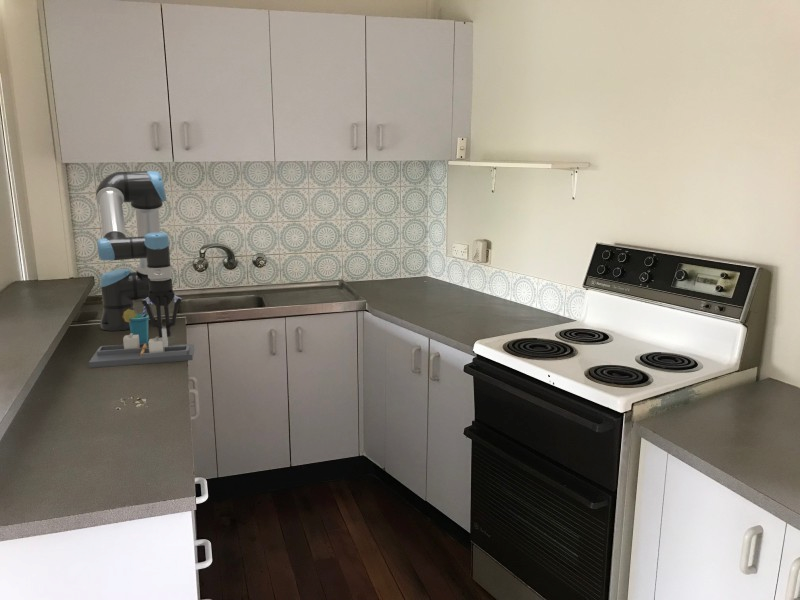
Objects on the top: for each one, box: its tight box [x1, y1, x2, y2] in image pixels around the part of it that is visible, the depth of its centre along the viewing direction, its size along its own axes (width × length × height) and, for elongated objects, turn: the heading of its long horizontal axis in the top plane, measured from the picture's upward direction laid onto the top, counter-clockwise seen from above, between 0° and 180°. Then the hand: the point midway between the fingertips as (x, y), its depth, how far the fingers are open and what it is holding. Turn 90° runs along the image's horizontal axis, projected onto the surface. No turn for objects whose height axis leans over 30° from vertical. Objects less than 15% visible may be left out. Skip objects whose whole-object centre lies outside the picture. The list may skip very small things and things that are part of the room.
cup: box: [123, 301, 154, 345], centre depth 251 cm, size 14×8×15 cm, turn 157°
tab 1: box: [122, 332, 140, 349], centre depth 236 cm, size 4×4×6 cm
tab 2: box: [148, 336, 165, 353], centre depth 231 cm, size 4×4×6 cm
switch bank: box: [88, 343, 196, 369], centre depth 234 cm, size 14×33×4 cm, turn 104°
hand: (165, 345), depth 232 cm, fingers closed
